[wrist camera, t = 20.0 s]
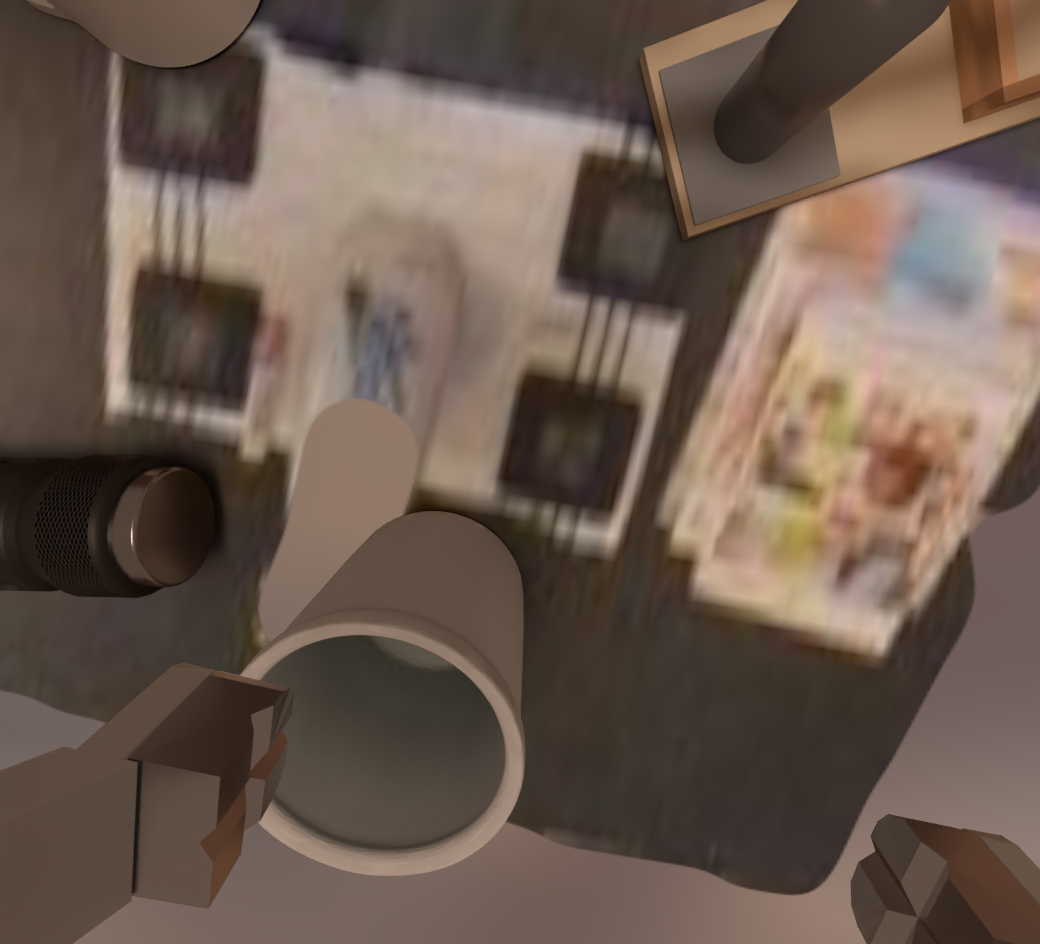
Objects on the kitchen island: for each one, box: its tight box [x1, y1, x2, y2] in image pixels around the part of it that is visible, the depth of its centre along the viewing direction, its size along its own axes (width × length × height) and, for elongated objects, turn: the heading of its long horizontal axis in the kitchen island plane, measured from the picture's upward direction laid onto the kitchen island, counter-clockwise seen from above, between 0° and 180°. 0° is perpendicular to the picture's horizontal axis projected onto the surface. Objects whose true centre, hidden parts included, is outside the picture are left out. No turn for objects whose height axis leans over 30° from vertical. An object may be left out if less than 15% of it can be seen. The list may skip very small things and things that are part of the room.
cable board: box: [639, 0, 1040, 241], centre depth 31 cm, size 11×26×4 cm, turn 108°
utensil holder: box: [240, 511, 525, 876], centre depth 35 cm, size 15×15×18 cm
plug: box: [714, 0, 951, 164], centre depth 25 cm, size 4×4×17 cm
